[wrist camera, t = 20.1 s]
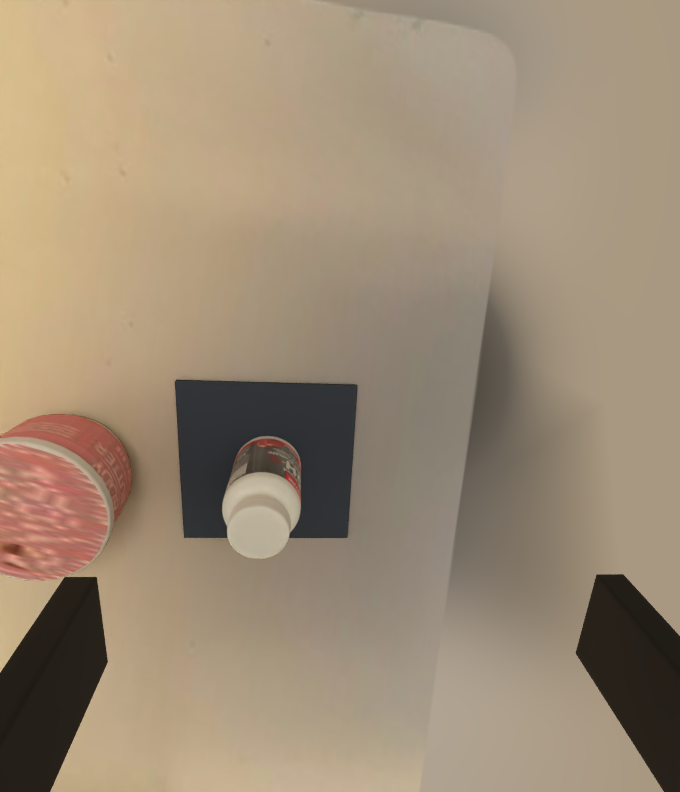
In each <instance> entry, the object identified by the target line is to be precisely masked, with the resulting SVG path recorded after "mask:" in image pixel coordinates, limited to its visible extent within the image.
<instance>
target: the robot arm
mask: <svg viewBox="0 0 680 792" xmlns="http://www.w3.org/2000/svg"><path fill="white" fill-rule="evenodd" d="M576 654H577V656H578V658H579V659H580V661H581V662H582V664H583V665H584V667H585V668H586V670H587V672H588V673H589V675H590V676H591V678H592V679H593V681H594V682H595V684H596V686H597V687H598V689H599V690H600V692H601V694H602V695H603V697H604V698H605V700H606V701H607V703H608V705H609V706H610V708H611V709H612V711H613V712H614V714H615V715H616V717H617V719H618V720H619V722H620V723H621V725H622V727H623V728H624V729H625V731H626V733H627V734H628V736H629V737H630V739H631V741H632V742H633V744H634V745H635V747H636V748H637V750H638V751H639V753H640V754H641V756H642V758H643V759H644V761H645V763H646V764H647V766H648V767H649V769H650V770H651V772H652V774H653V775H654V777H655V778H656V780H657V781H658V783H659V784H660V786H661V788H662V789H663V791H664V792H680V636H679V635H678V634H677V633H676V632H675V630H674V629H673V628H672V627H671V626H670V625H669V624H668V623H667V622H666V621H665V620H664V618H663V617H662V616H661V615H660V614H659V613H658V612H657V611H656V610H655V609H654V608H653V606H652V605H651V604H650V603H649V602H648V601H647V600H646V599H645V598H644V597H643V596H642V595H641V593H640V592H639V591H638V590H637V589H636V588H635V587H634V586H633V585H632V584H631V583H630V581H629V580H628V579H627V578H626V577H625V576H624V575H621V574H620V575H596V579H595V583H594V587H593V590H592V594H591V598H590V601H589V605H588V609H587V613H586V616H585V620H584V624H583V628H582V632H581V635H580V639H579V643H578V647H577V650H576ZM107 663H108V660H107V653H106V645H105V637H104V630H103V622H102V614H101V606H100V599H99V591H98V583H97V577H65V578H64V579H63V581H62V582H61V584H60V585H59V587H58V588H57V590H56V591H55V592H54V594H53V595H52V597H51V598H50V600H49V601H48V603H47V604H46V606H45V607H44V609H43V610H42V612H41V613H40V615H39V616H38V618H37V619H36V621H35V622H34V624H33V625H32V627H31V628H30V630H29V631H28V633H27V634H26V636H25V637H24V638H23V640H22V641H21V643H20V644H19V646H18V647H17V649H16V650H15V652H14V653H13V655H12V656H11V658H10V659H9V661H8V662H7V664H6V665H5V667H4V668H3V670H2V671H1V673H0V792H50V791H51V788H52V786H53V784H54V782H55V779H56V777H57V775H58V773H59V770H60V768H61V766H62V764H63V761H64V759H65V757H66V755H67V753H68V750H69V748H70V746H71V744H72V741H73V739H74V737H75V735H76V732H77V730H78V728H79V726H80V723H81V721H82V719H83V717H84V714H85V712H86V710H87V708H88V705H89V703H90V701H91V699H92V696H93V694H94V692H95V690H96V687H97V685H98V683H99V681H100V678H101V676H102V674H103V672H104V669H105V667H106V665H107Z"/></svg>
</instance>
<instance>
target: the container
mask: <svg viewBox="0 0 680 792" xmlns="http://www.w3.org/2000/svg"><path fill="white" fill-rule="evenodd" d="M131 483H132V480H131V467H130V463H129V459H128V455H127V453H126V451H125V449H124V447H123V445H122V444H121V442H120V441H119V439H118V438H117V437H116V436H115V434H113V433H112V432H111V431H110V430H109V429H108V428H106V427H105V426H103V425H102V424H100V423H98V422H96V421H93V420H91V419H87V418H84V417H80V416H75V415H65V414H52V415H44V416H38V417H35V418H32V419H29V420H27V421H25V422H23V423H21V424H20V425H18V426H16V427H14V428H13V429H11V430H9V431H8V432H6V433H5V434H3V435H1V436H0V574H1V575H4V576H7V577H10V578H15V579H21V580H27V581H46V580H54V579H60V578H63V577H66V576H69V575H72V574H74V573H76V572H78V571H80V570H82V569H84V568H85V567H86V566H88V565H89V564H90V563H91V562H93V561H94V560H95V559H96V558H97V556H98V555H99V554H100V552H101V551H102V550H103V549H104V547H105V545H106V544H107V542H108V539H109V537H110V535H111V533H112V529H113V525H114V523H115V521H116V519H117V517H118V516H119V514H120V512H121V510H122V508H123V506H124V504H125V502H126V500H127V498H128V496H129V493H130V489H131Z"/></svg>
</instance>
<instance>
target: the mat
mask: <svg viewBox="0 0 680 792" xmlns="http://www.w3.org/2000/svg"><path fill="white" fill-rule="evenodd" d="M175 390H176V407H177V424H178V441H179V458H180V475H181V492H182V509H183V526H184V538H228V537H227V525H226V523H225V521H224V518H223V513H222V504H223V499H224V495H225V492H226V489H227V485H228V482H229V479H230V475H231V472H232V469H233V465H234V462H235V459H236V456H237V454H238V452H239V450H240V449H241V448H242V447H243V446H244V445H245V444H246V443H247V442H249V441H250V440H252V439H254V438H257V437H261V436H274V437H278V438H281V439H283V440H285V441H287V442H288V443H290V444H291V445H292V446H293V447H294V448H295V450H296V451H297V453H298V455H299V458H300V462H301V511H300V516H299V520H298V522H297V524H296V526H295V527H294V529H293V530H292V531H291V532H290V535H289V538H347V536H348V521H349V506H350V491H351V476H352V461H353V446H354V431H355V416H356V401H357V385H347V384H311V383H275V382H239V381H203V380H176V381H175Z"/></svg>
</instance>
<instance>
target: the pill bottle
mask: <svg viewBox="0 0 680 792" xmlns="http://www.w3.org/2000/svg"><path fill="white" fill-rule="evenodd" d="M300 511H301V462H300V458H299V455H298V453H297V451H296V450H295V448H294V447H293V446H292V445H291V444H290V443H288V442H287V441H285V440H283V439H281V438H278V437H274V436H261V437H257V438H254V439H252V440H250V441H249V442H247V443H246V444H245V445H244V446H243V447H242V448H241V449H240V450H239V452H238V454H237V456H236V459H235V462H234V465H233V469H232V472H231V475H230V479H229V482H228V485H227V489H226V492H225V495H224V499H223V504H222V513H223V518H224V521H225V523H226V525H227V537H228V540H229V543H230V544H231V546H232V547H233V548H234V550H235V551H237V552H238V553H239V554H241V555H243V556H245V557H248V558H252V559H265V558H269V557H272V556H274V555H276V554H278V553H279V552H280V551H281V550H282V549H283V548H284V547H285V545H286V544H287V542H288V539H289V535H290V532H291V531H292V530H293V529H294V527H295V526H296V524H297V522H298V520H299V516H300Z"/></svg>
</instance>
